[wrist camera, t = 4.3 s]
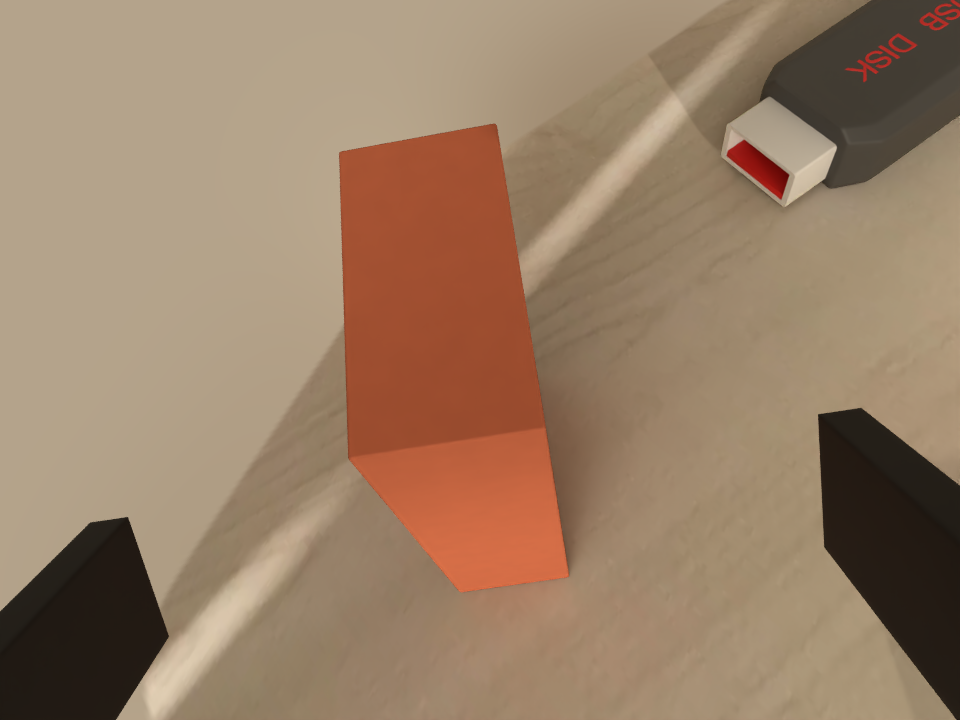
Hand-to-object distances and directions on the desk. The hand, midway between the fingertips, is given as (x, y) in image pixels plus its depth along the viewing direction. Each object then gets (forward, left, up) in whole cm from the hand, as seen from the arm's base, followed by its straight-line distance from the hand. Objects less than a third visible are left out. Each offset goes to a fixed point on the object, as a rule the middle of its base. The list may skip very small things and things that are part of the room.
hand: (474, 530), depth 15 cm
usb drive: (+22, +7, -10) cm, 25 cm away
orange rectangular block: (+2, +4, -10) cm, 11 cm away
